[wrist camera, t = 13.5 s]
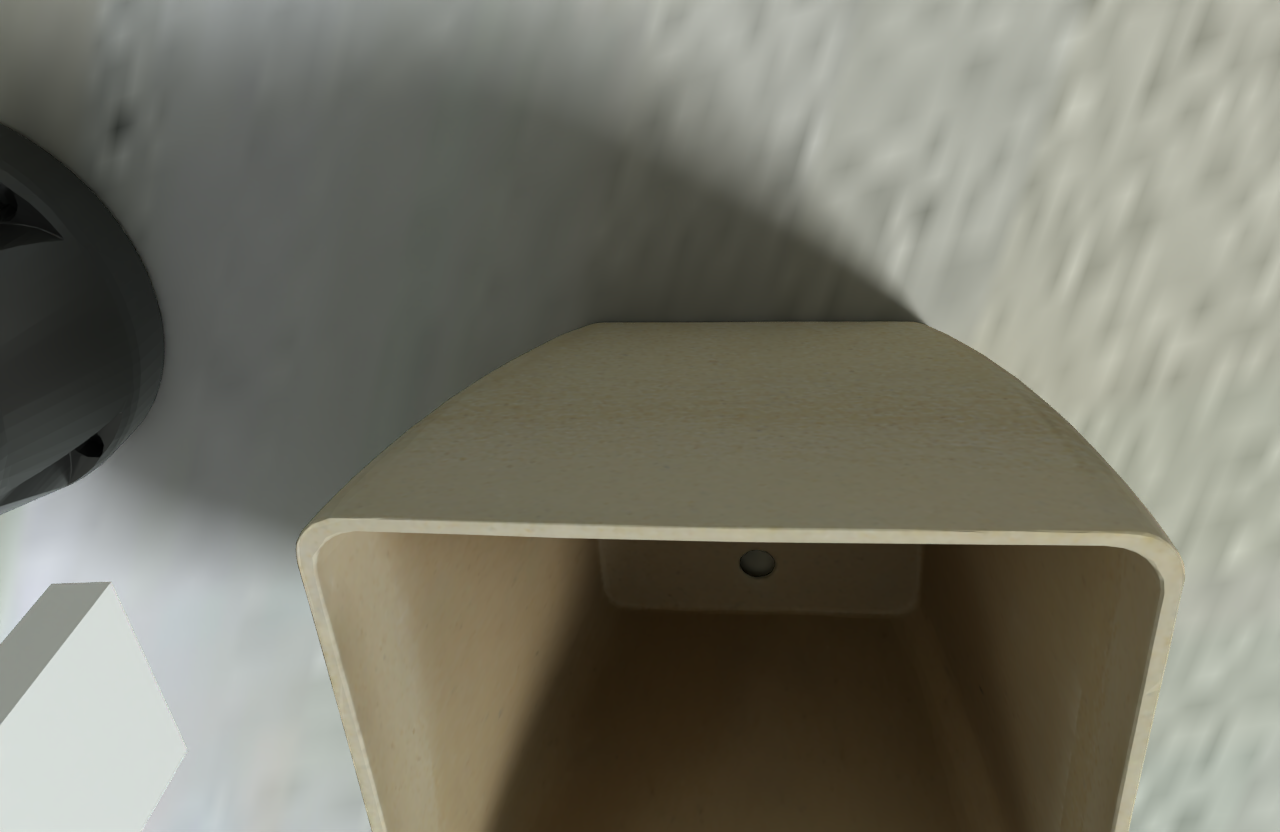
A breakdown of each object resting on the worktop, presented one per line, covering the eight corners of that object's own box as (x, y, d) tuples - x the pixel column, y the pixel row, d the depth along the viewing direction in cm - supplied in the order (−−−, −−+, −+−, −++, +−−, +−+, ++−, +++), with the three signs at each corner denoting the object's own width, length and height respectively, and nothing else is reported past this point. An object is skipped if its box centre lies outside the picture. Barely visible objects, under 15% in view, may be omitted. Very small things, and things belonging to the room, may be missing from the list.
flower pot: (469, 232, 40) (278, 524, 25) (1048, 220, 37) (1199, 539, 23) (534, 652, 49) (422, 1036, 35) (996, 667, 47) (1080, 1089, 32)
